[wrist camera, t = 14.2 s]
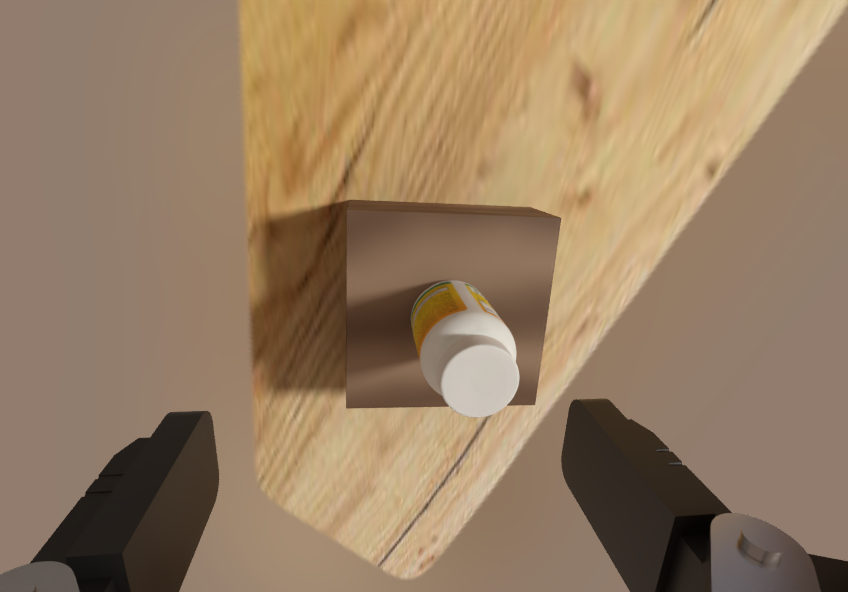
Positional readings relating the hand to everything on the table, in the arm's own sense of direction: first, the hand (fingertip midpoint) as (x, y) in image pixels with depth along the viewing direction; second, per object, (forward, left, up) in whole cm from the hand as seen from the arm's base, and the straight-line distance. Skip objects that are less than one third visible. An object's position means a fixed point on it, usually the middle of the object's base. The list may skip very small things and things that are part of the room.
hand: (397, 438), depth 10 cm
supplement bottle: (+4, +5, -21) cm, 22 cm away
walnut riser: (+4, +5, -26) cm, 27 cm away
